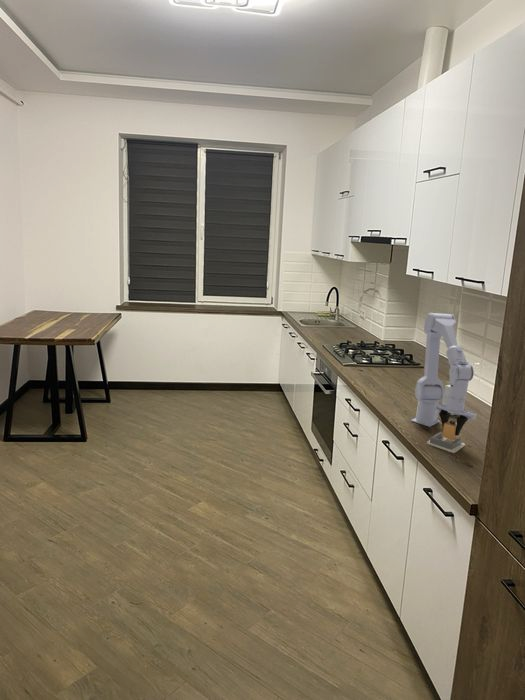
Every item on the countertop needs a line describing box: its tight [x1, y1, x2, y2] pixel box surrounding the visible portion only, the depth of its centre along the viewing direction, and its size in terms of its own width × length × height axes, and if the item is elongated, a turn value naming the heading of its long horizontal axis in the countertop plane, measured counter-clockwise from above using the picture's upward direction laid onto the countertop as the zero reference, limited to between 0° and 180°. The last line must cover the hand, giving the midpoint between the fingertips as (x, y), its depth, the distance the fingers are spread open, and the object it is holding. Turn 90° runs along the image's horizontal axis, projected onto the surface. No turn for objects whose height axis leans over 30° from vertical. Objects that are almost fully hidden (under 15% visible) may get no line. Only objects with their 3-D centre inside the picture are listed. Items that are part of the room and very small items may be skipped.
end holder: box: [426, 431, 466, 454], centre depth 183 cm, size 10×10×3 cm
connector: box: [442, 419, 459, 440], centre depth 186 cm, size 7×4×6 cm, turn 138°
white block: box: [441, 384, 455, 416], centre depth 218 cm, size 6×4×12 cm
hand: (450, 432), depth 185 cm, fingers closed on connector, 4 cm apart
